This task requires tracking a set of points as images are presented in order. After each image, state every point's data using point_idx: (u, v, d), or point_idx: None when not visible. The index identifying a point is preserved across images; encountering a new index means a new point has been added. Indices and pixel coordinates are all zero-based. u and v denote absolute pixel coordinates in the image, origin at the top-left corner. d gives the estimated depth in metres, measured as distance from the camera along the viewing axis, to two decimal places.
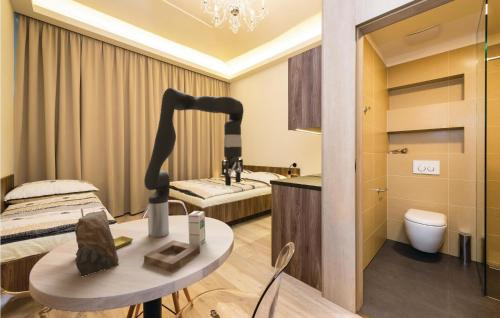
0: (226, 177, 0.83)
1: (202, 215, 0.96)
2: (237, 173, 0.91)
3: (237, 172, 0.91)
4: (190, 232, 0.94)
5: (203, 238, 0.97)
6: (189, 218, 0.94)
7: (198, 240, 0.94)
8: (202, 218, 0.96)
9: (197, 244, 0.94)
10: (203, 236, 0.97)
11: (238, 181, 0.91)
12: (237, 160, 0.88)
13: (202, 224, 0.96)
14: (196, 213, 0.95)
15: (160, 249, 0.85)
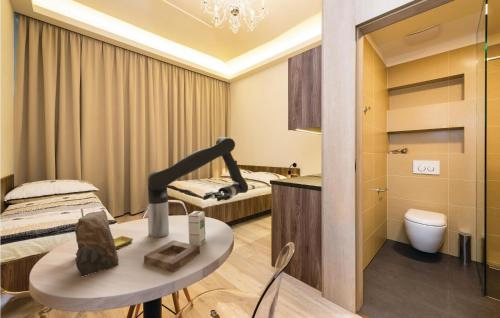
0: (222, 197, 1.07)
1: (202, 215, 0.96)
2: (209, 196, 1.12)
3: (209, 195, 1.12)
4: (190, 232, 0.94)
5: (203, 238, 0.97)
6: (189, 218, 0.94)
7: (198, 240, 0.94)
8: (202, 218, 0.96)
9: (197, 244, 0.94)
10: (203, 236, 0.97)
11: (205, 198, 1.08)
12: None
13: (202, 224, 0.96)
14: (196, 213, 0.95)
15: (160, 249, 0.85)
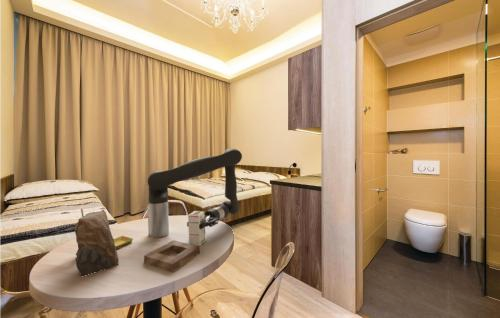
0: (206, 224, 0.96)
1: (202, 215, 0.96)
2: None
3: None
4: (190, 232, 0.94)
5: (203, 238, 0.97)
6: (189, 218, 0.94)
7: (198, 240, 0.94)
8: (202, 218, 0.96)
9: (197, 244, 0.94)
10: (203, 236, 0.97)
11: None
12: None
13: None
14: (196, 213, 0.95)
15: (160, 249, 0.85)
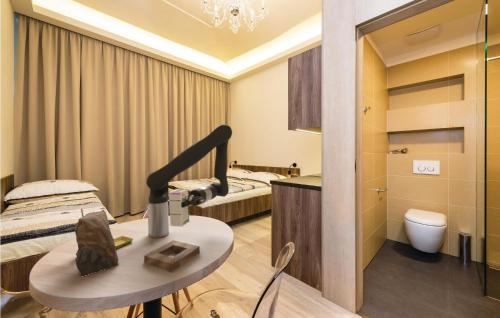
0: (189, 203, 0.85)
1: (185, 193, 0.86)
2: None
3: None
4: (171, 211, 0.84)
5: (186, 219, 0.86)
6: (170, 196, 0.84)
7: (180, 220, 0.83)
8: (184, 195, 0.85)
9: (179, 225, 0.83)
10: (186, 216, 0.86)
11: None
12: None
13: None
14: (178, 190, 0.85)
15: (160, 249, 0.85)
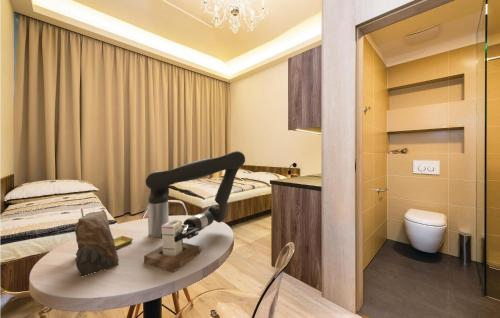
0: (183, 236, 0.82)
1: (179, 226, 0.83)
2: None
3: None
4: (164, 246, 0.81)
5: (180, 252, 0.83)
6: (163, 229, 0.81)
7: (173, 255, 0.80)
8: (178, 229, 0.82)
9: None
10: (180, 250, 0.83)
11: None
12: None
13: None
14: (171, 223, 0.82)
15: (160, 249, 0.85)
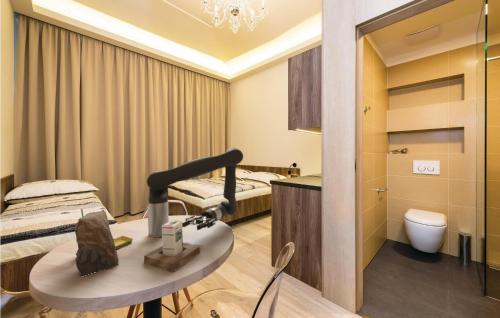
0: (204, 225, 0.93)
1: (179, 226, 0.83)
2: (189, 222, 0.98)
3: (189, 221, 0.98)
4: (164, 246, 0.81)
5: None
6: (163, 229, 0.81)
7: (173, 255, 0.80)
8: (178, 229, 0.82)
9: None
10: (180, 250, 0.83)
11: (184, 225, 0.95)
12: None
13: (179, 236, 0.83)
14: (171, 223, 0.82)
15: (160, 249, 0.85)
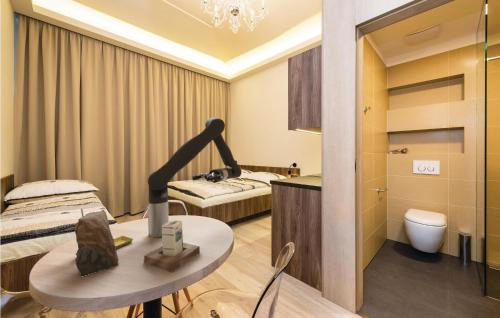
0: (213, 178, 1.01)
1: (179, 226, 0.83)
2: (198, 177, 1.05)
3: (198, 176, 1.06)
4: (164, 246, 0.81)
5: None
6: (163, 229, 0.81)
7: (173, 255, 0.80)
8: (178, 229, 0.82)
9: None
10: (180, 250, 0.83)
11: (194, 179, 1.02)
12: None
13: (179, 236, 0.83)
14: (171, 223, 0.82)
15: (160, 249, 0.85)
